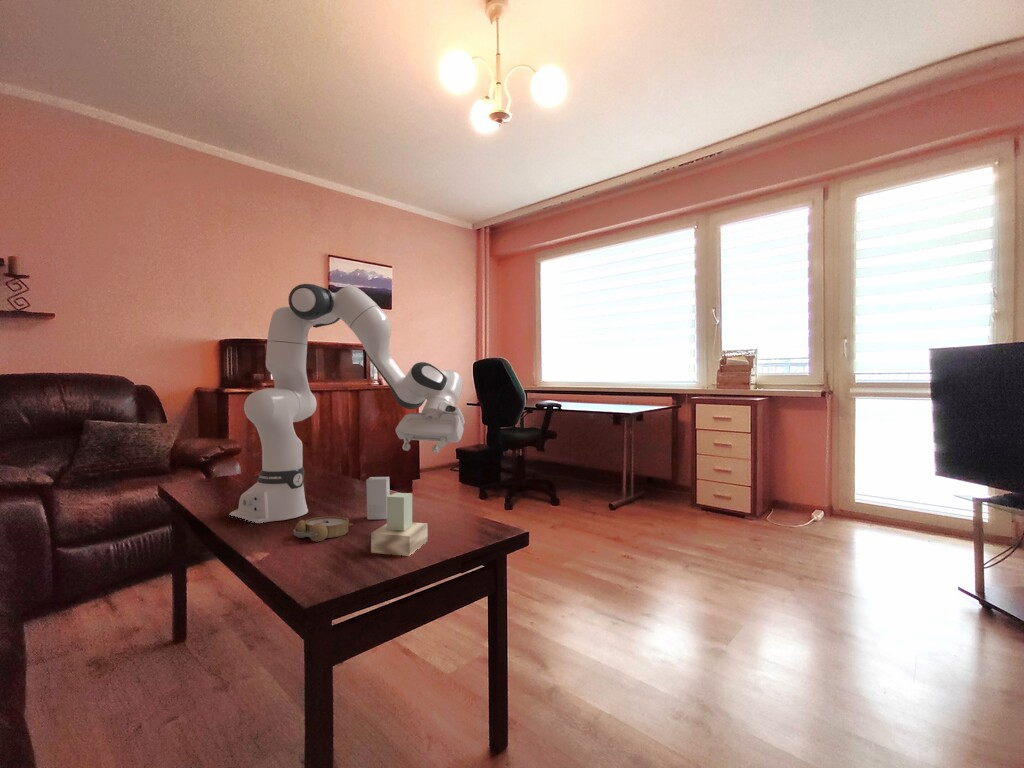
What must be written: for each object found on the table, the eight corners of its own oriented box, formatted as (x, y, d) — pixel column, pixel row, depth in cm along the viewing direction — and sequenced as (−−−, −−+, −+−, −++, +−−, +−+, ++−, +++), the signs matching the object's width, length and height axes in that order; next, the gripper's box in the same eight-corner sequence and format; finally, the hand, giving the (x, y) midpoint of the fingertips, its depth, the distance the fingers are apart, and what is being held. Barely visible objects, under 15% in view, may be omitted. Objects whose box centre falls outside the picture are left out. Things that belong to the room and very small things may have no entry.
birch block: (371, 553, 106) (371, 532, 106) (391, 539, 116) (391, 520, 116) (409, 557, 104) (409, 536, 104) (427, 543, 114) (427, 523, 114)
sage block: (386, 529, 108) (386, 496, 108) (395, 524, 113) (396, 492, 113) (403, 530, 107) (403, 497, 107) (412, 525, 112) (412, 493, 112)
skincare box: (390, 515, 136) (390, 476, 136) (386, 520, 132) (387, 479, 132) (370, 515, 136) (370, 476, 136) (365, 520, 131) (366, 479, 131)
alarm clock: (358, 519, 123) (314, 525, 110) (356, 538, 122) (311, 545, 109) (329, 514, 128) (283, 519, 115) (327, 532, 127) (280, 538, 114)
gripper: (402, 405, 136) (383, 441, 127) (464, 408, 130) (449, 445, 121) (410, 419, 141) (392, 454, 131) (469, 422, 135) (455, 459, 125)
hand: (419, 450), depth 126 cm, fingers open, 8 cm apart
